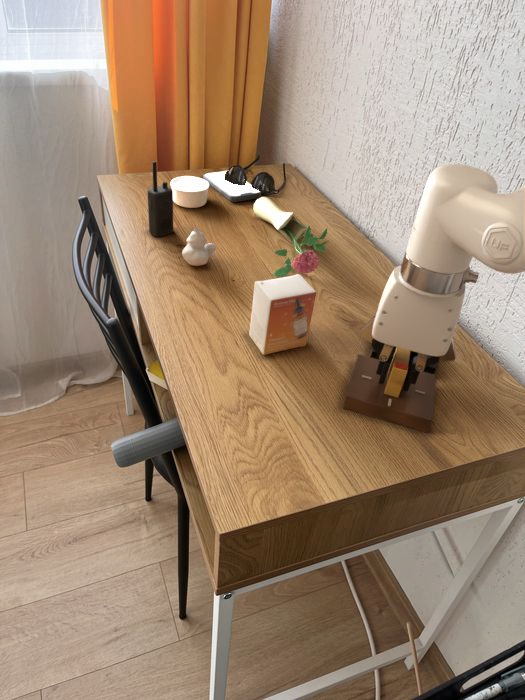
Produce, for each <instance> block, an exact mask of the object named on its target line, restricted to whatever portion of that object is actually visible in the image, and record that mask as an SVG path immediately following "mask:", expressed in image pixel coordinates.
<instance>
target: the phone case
mask: <svg viewBox="0 0 525 700" xmlns="http://www.w3.org/2000/svg"><path fill="white" fill-rule="evenodd" d="M227 171H228V170H222V171H221V170H220V171H215V172H208V173H207V172H206V173H204V174H203V176H202V177H203V178H202V179H204V180H206V181H207V182H208V183H209V186H210V187H212V188H214V189H215V190H216V191H217V192H218V193H220V194H221V195H222V196H224V197H225V198H226V199H227V200H229V201H230V202H233V203H236V202H237V203H238V202H242V201H250V200H255V199H256V200H257V199H259V198H261V197H262V190H260V189H258V188H257V189H258V190H257V189H255V188H253V187H252V185H253V184H251V183H250V182H248V181H247V180H246V183H245V185H238V184H233V183H231V182H229V181H227V180H225V174H226V172H227ZM259 190H260V191H259Z"/></svg>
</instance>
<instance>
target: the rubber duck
mask: <svg viewBox="0 0 525 700" xmlns="http://www.w3.org/2000/svg"><path fill="white" fill-rule="evenodd" d="M185 241H186V242H187V244H186V245H185V247H184V248H183V249H182V252H181V255H182V258H183V259H184V261H185V262H186V263H188V264H189V265H190V266H193V267H194V266H195V267H199V266H204V265H207V263H208V261H209V260H210V259H212V258H215V256H216V250H217V245H216V244H215V243H212V242H211V243H207V237H206V236H205V234H204V233H203V232H202V231H201V230H199V228H197V226H196V225H195V226H194V229H193V230H192V231H191V232H190V234H189V236H188V237H187V238H186V240H185ZM206 243H207V244H206Z"/></svg>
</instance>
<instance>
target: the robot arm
mask: <svg viewBox="0 0 525 700" xmlns="http://www.w3.org/2000/svg"><path fill="white" fill-rule="evenodd" d="M498 189H499V187H498V182H497V180H496V179H495V178H494V177H493V176H492V175H491V174H489V173H488V172H486V171H484V170H483V169H480V168H477V167H476V166H475V167H474V166H470V165H466V164H459V163H449V164H442V165H440V166H437V167H435V168H434V169H433V170H431V172H430V173H429V176H428V177H427V180H426V183H425V186H424V188H423V192H422V196H421V198H420V202H419V205H418V209H417V212H416V215H415V218H414V222H413V225H412V229H411V232H410V235H409V238H408V242H407V245H406V249H405V252H404V255H403V258H402V262H401V265H397V266H395V267H394V269H393V270H392V271H391V273H390V276H389V278H388V279H387V282H386V284H385V286H384V289H383V292H382V294H381V297H380V300H379V303H378V305H377V308H376V311H375V315H374V316H373V317H372V318H371V319H370V320H368V321H367V322H366V323H365V324H364V325H363V326H362V327H361V328H360V331H359V337H360V338H362V339H363V340H364V341H366V342H367V343H368V344H370V345H371V347H372V348H374V350H375V351H376V352H377V354H378V355H379V359H380V361H379V364H378V367H377V371H376V374H378V375H380V379H379V384H384V381H385V378H386V375H387V372H388V369H389V366H390V362H391V357H392V353H391V352H392V349H393V347H394V346H395V347H399V348H403V349H406V350H410V351H414V352H418V353H417V356H416V357H413V359H411V362H410V364H409V367H408V372H407V375H406V377H405V380H404V386H403V389H404V391H408V390H409V387H410V385H411V384H414V385H415V384H416V381H417V378H418V376H419V373H420V371H423V370H424V368H426V367H428V366H431V365H434V364H436V363H437V364H438V363H446V362H454V361H456V359H457V358H456V357H457V351H456V347H455V342H454V335H455V332H456V329H457V326H458V322H459V320H460V316H461V311H462V308H463V303H464V300H465V295H466V288H467V287H466V283H467V284H469V283H473V284H476V283H477V281H478V279H479V275H480V272H477V271H474V269H471V266H470V265H471V263H472V260H473V258H474V259H476V260H477V261H478V262H480V263H481V264H483V265H484V266H486V267H488V268H489V269H492V270H494V271H495V272H499V273H502V274H510V275H511V274H521V273H524V272H525V184H524V185H523V186H520V187H519V188H517V189H516V190H514V191H512V192H508V193H498Z"/></svg>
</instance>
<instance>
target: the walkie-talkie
mask: <svg viewBox="0 0 525 700" xmlns="http://www.w3.org/2000/svg"><path fill="white" fill-rule="evenodd" d="M157 167H158V165H157V162H156V161H155V160H154V161H152V162H151V169H152V187H151V188H148V190H147V211H148V214H147V215H148V232H149V233H150V234H151V235H153V236H155V237H162V236H165V235H168V234H172V233H173V232H174V201H173V190H172V187H169V186H168V182H167V181H163V182H162V185H159V186H158V171H157V170H158V168H157Z"/></svg>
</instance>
